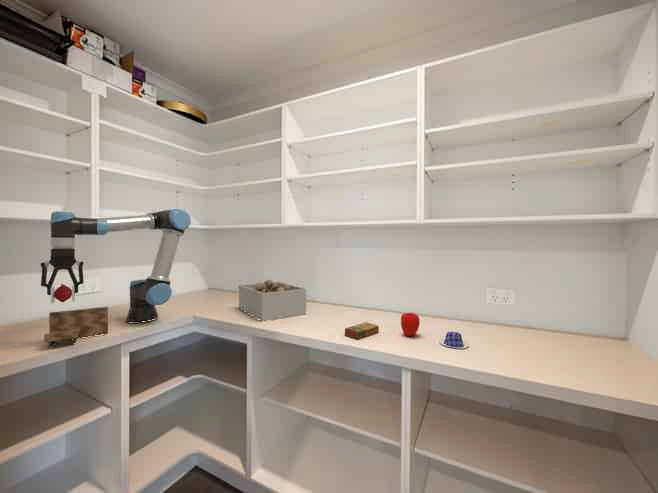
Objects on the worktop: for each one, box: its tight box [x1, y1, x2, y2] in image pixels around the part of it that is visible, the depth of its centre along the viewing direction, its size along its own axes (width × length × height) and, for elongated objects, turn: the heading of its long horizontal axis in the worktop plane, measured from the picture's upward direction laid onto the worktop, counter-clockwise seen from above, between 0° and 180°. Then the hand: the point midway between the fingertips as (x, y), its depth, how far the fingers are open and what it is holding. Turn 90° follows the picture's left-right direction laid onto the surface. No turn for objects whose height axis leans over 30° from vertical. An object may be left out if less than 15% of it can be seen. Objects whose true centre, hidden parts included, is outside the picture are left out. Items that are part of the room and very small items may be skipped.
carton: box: [344, 321, 380, 341], centre depth 138 cm, size 8×16×4 cm, turn 133°
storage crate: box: [238, 281, 307, 322], centre depth 182 cm, size 29×38×16 cm
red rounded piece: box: [400, 312, 420, 337], centre depth 136 cm, size 9×9×11 cm
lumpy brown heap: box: [255, 279, 291, 293], centre depth 183 cm, size 38×26×20 cm
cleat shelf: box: [43, 329, 80, 349], centre depth 121 cm, size 10×11×7 cm
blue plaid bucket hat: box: [439, 331, 470, 349], centre depth 125 cm, size 12×12×5 cm
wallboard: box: [48, 306, 109, 343], centre depth 129 cm, size 20×2×13 cm, turn 127°
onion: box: [54, 283, 72, 303], centre depth 121 cm, size 6×6×8 cm
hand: (63, 301), depth 121 cm, fingers closed on onion, 6 cm apart
